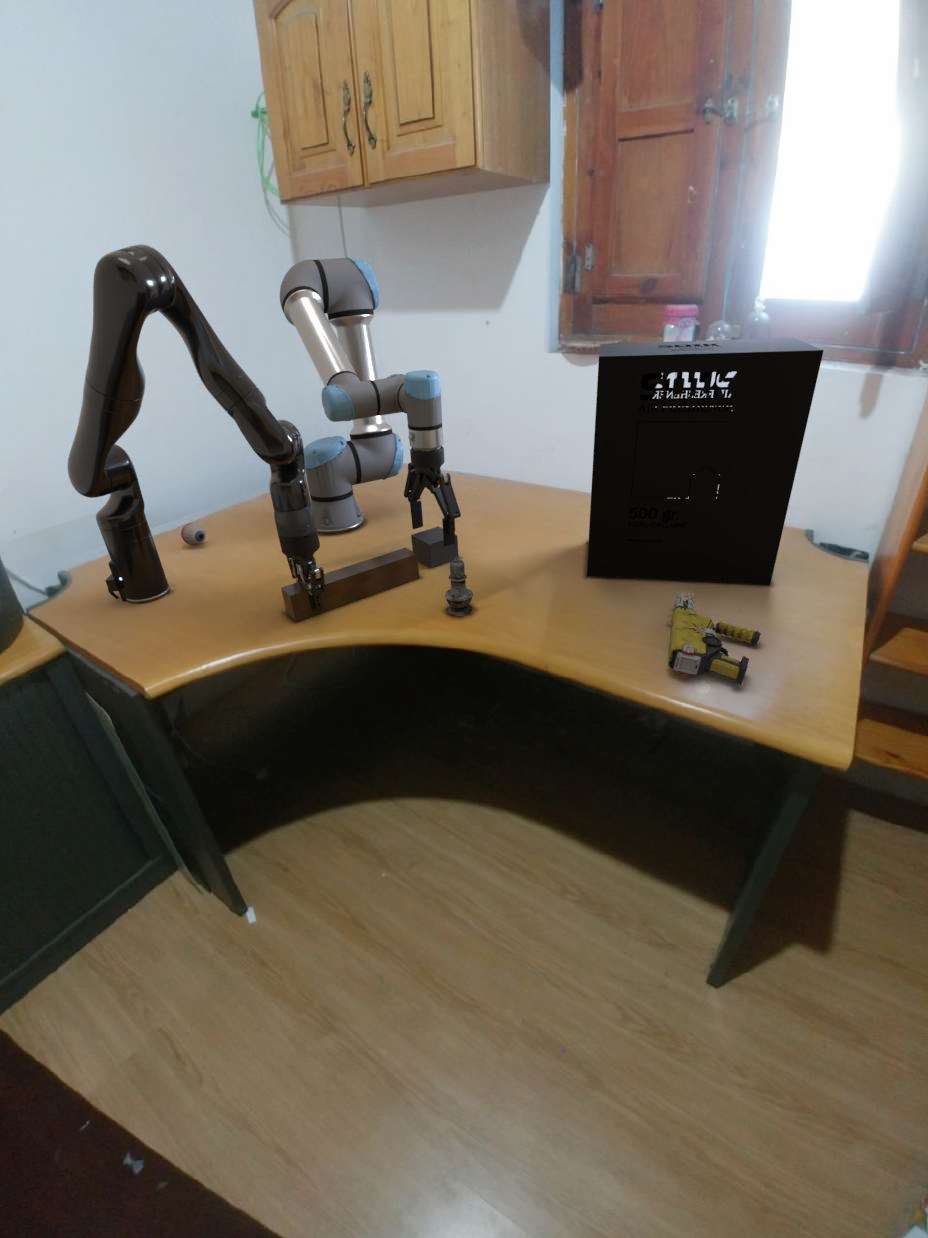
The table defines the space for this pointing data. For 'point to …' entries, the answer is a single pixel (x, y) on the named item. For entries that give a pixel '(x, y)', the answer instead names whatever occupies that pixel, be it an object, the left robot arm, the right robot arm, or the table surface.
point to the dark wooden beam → (353, 583)
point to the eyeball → (193, 534)
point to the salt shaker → (458, 590)
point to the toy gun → (704, 643)
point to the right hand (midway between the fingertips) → (433, 535)
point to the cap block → (433, 547)
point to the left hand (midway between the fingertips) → (312, 603)
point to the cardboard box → (696, 457)
